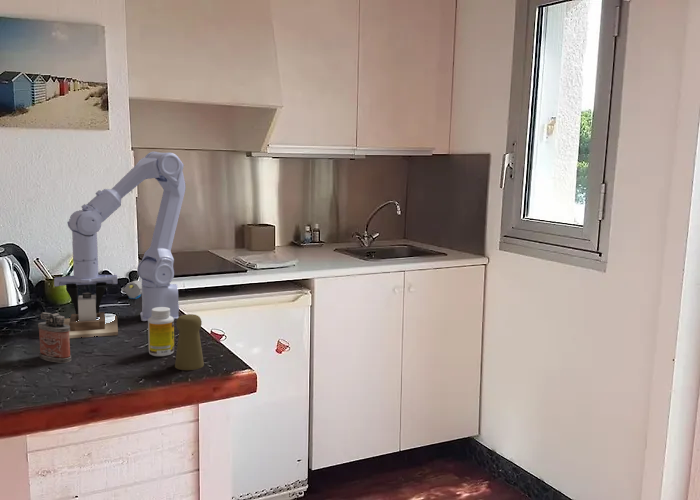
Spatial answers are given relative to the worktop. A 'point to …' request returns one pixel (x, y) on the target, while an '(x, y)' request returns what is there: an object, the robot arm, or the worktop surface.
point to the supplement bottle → (161, 332)
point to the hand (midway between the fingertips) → (87, 312)
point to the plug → (87, 307)
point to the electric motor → (133, 289)
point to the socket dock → (91, 326)
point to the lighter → (54, 338)
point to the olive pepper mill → (189, 343)
